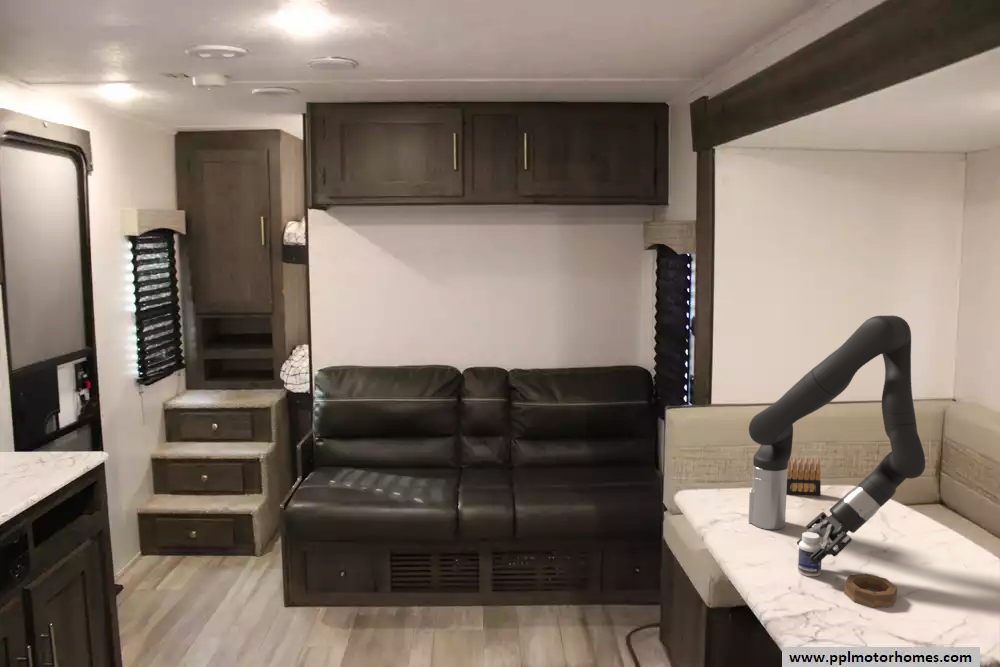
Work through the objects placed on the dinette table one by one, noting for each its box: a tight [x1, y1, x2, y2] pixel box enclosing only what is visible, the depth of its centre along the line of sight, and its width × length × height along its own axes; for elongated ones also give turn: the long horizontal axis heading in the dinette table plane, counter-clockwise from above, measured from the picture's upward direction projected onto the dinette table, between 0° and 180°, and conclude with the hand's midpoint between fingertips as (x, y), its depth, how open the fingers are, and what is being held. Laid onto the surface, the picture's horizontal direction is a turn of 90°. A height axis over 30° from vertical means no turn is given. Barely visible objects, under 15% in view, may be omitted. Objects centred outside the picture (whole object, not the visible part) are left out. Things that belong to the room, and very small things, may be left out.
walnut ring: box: [843, 573, 898, 609], centre depth 178 cm, size 10×10×3 cm
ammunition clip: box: [786, 457, 822, 497], centre depth 243 cm, size 11×2×12 cm, turn 81°
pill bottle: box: [797, 531, 822, 577], centre depth 190 cm, size 5×5×10 cm
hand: (805, 553), depth 190 cm, fingers open, 8 cm apart
